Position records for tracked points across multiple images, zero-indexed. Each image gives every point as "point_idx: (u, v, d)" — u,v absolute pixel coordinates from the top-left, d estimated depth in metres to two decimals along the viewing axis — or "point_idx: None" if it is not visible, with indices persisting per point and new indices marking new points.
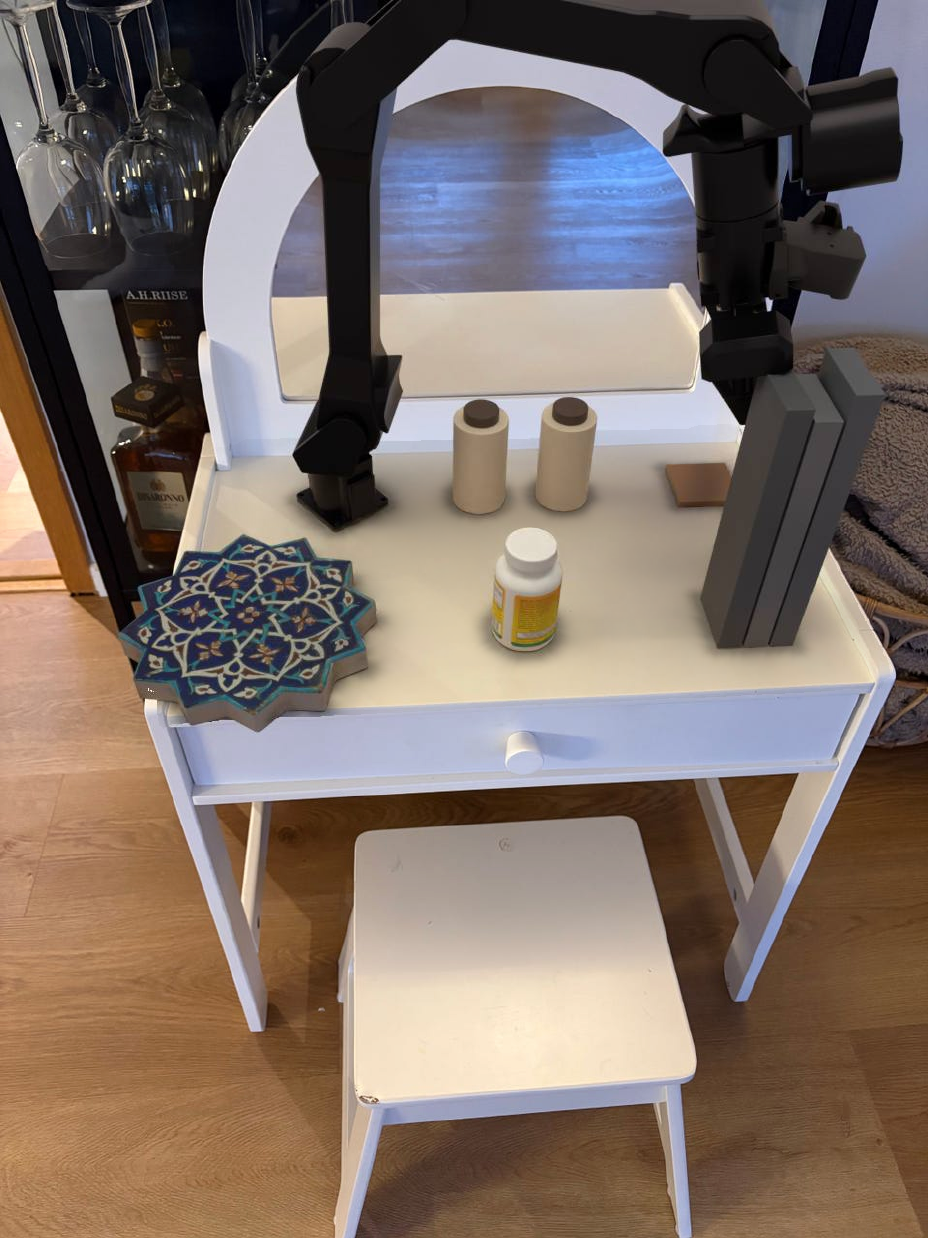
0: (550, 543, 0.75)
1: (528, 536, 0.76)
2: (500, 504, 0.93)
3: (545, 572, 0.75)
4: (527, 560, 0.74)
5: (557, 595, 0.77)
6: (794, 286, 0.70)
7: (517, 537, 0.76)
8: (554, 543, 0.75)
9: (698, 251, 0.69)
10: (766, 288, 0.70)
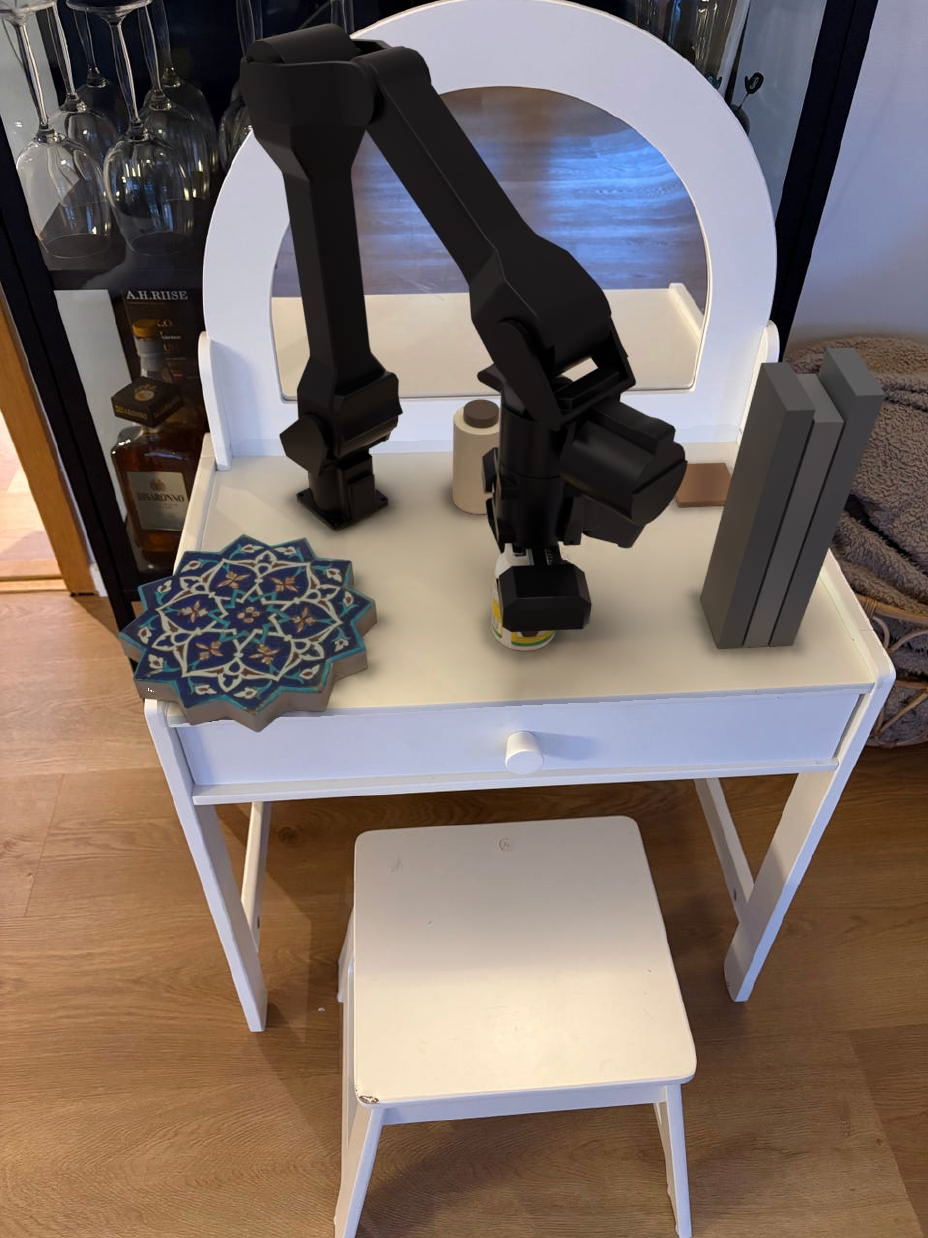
0: None
1: None
2: None
3: None
4: (527, 558, 0.74)
5: None
6: (586, 534, 0.72)
7: None
8: None
9: (501, 498, 0.69)
10: (561, 534, 0.71)
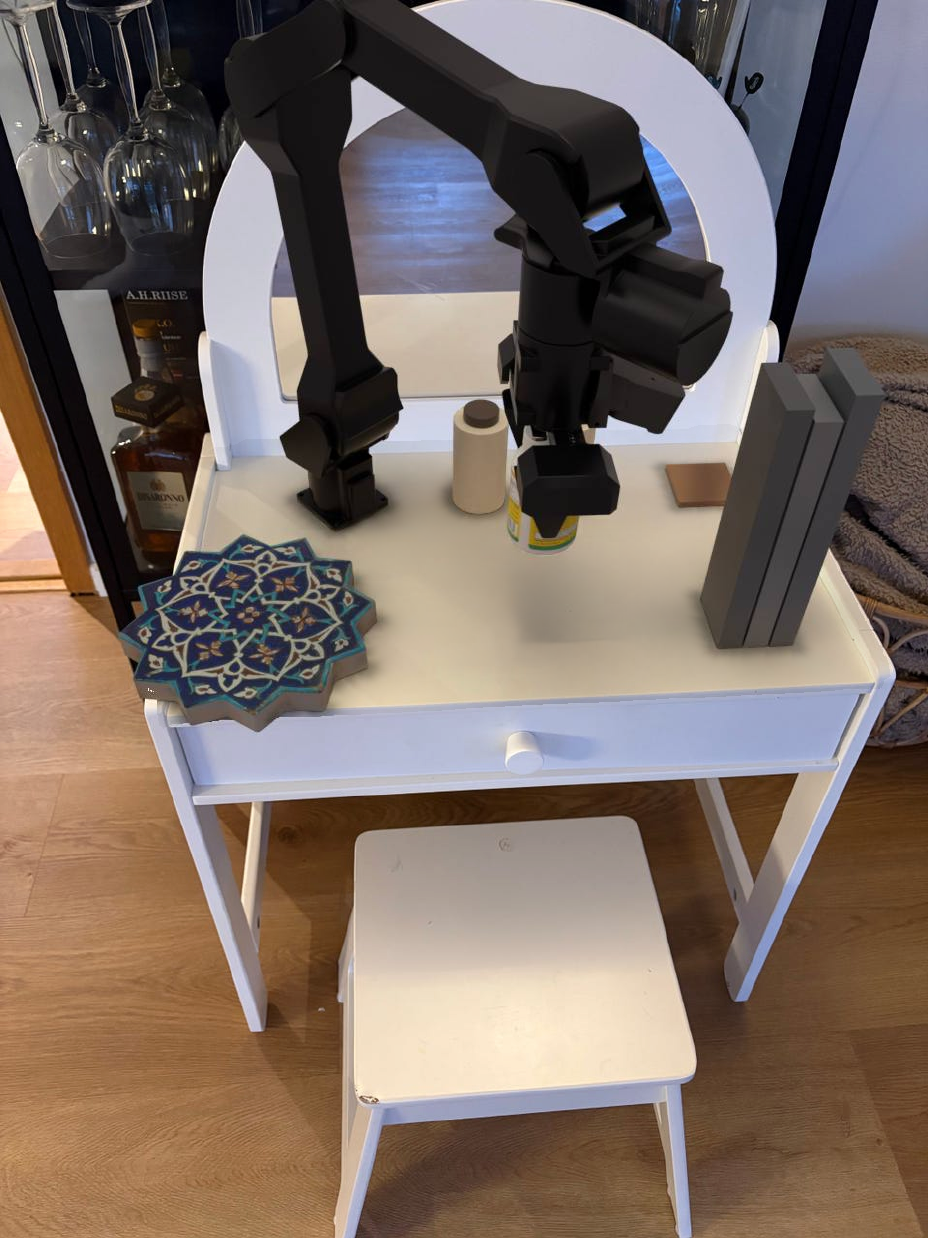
0: None
1: None
2: (500, 504, 0.93)
3: None
4: None
5: None
6: (613, 416, 0.66)
7: None
8: None
9: (521, 370, 0.63)
10: (585, 415, 0.65)
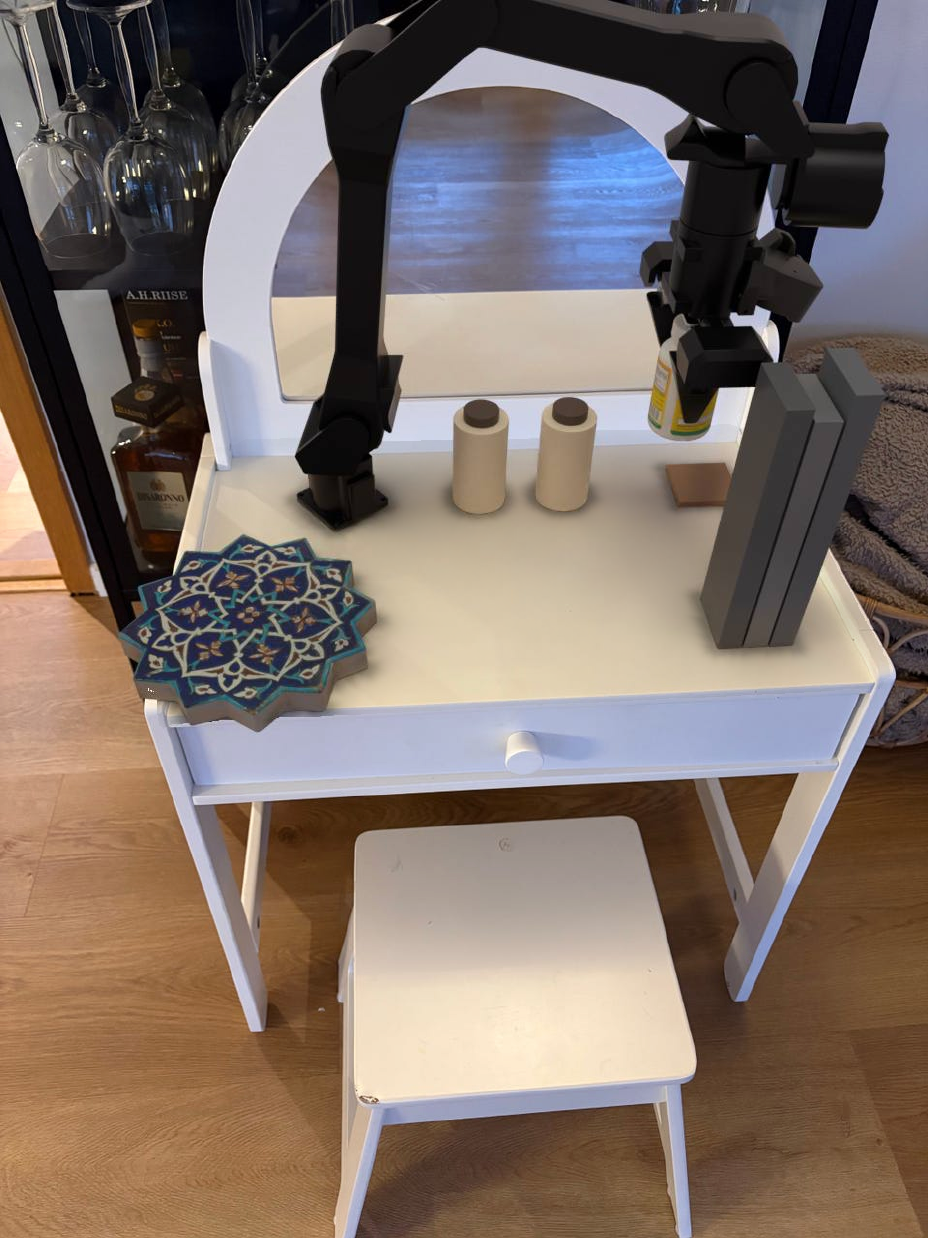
0: None
1: None
2: (500, 504, 0.93)
3: None
4: None
5: None
6: (759, 305, 0.74)
7: None
8: None
9: (684, 260, 0.71)
10: (735, 304, 0.74)
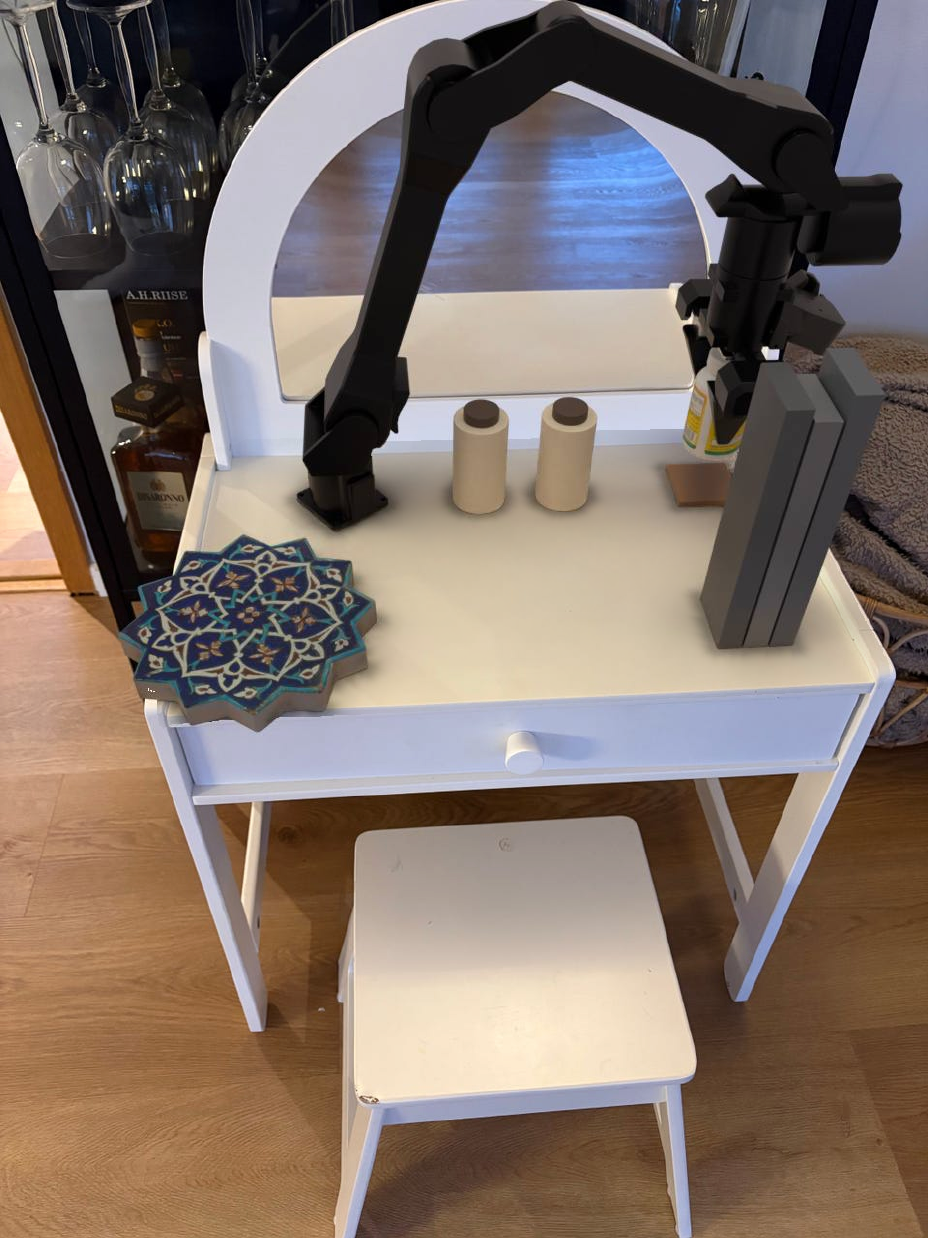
0: None
1: None
2: (500, 504, 0.93)
3: None
4: None
5: None
6: (788, 340, 0.82)
7: None
8: None
9: (723, 300, 0.79)
10: (767, 339, 0.82)
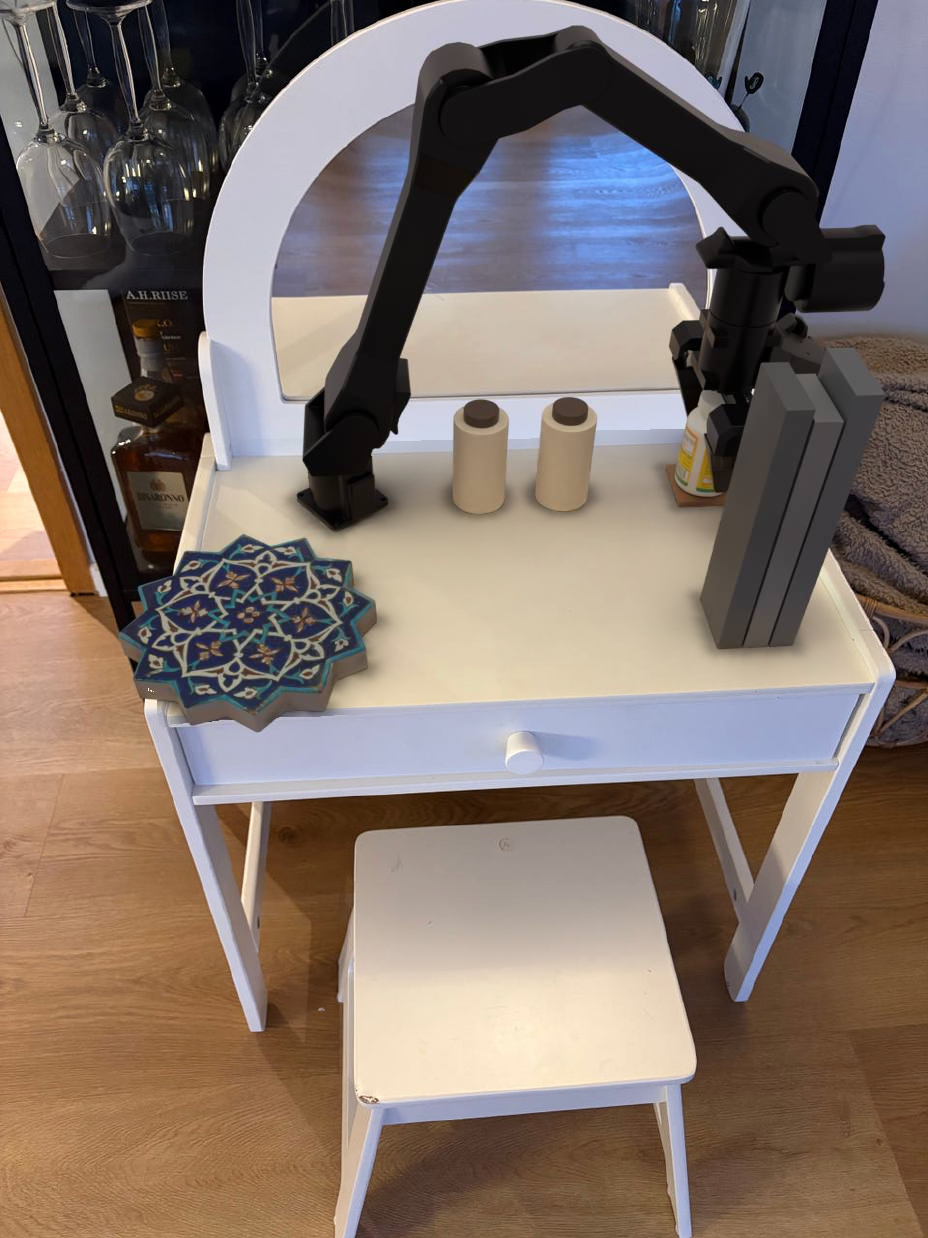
0: None
1: None
2: (500, 504, 0.93)
3: None
4: None
5: None
6: None
7: (710, 392, 0.89)
8: None
9: (713, 346, 0.82)
10: None
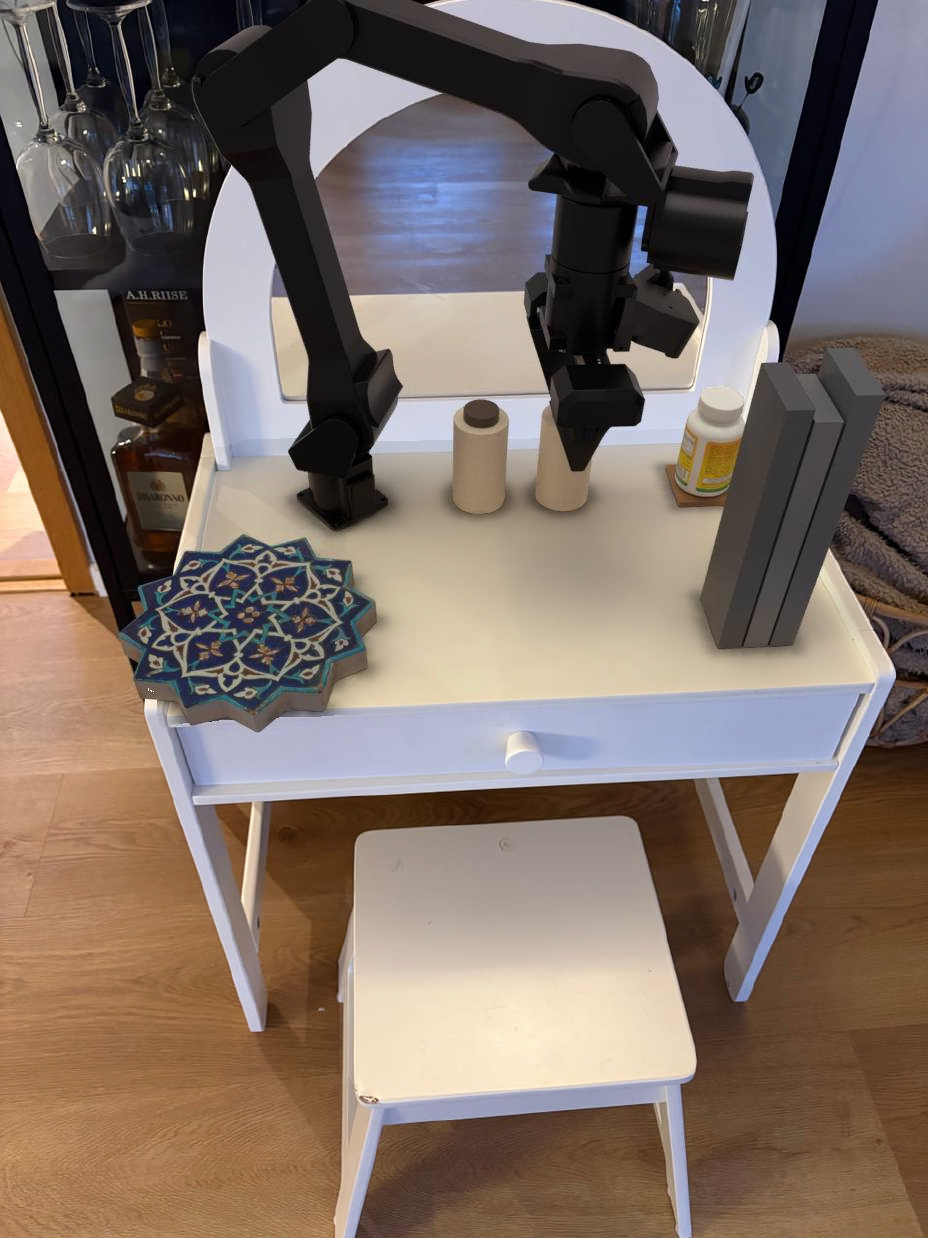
0: (738, 396, 0.89)
1: (718, 392, 0.89)
2: (500, 504, 0.93)
3: (733, 422, 0.89)
4: (722, 409, 0.87)
5: None
6: (635, 341, 0.73)
7: (709, 392, 0.89)
8: (741, 397, 0.89)
9: (555, 297, 0.70)
10: (611, 340, 0.73)
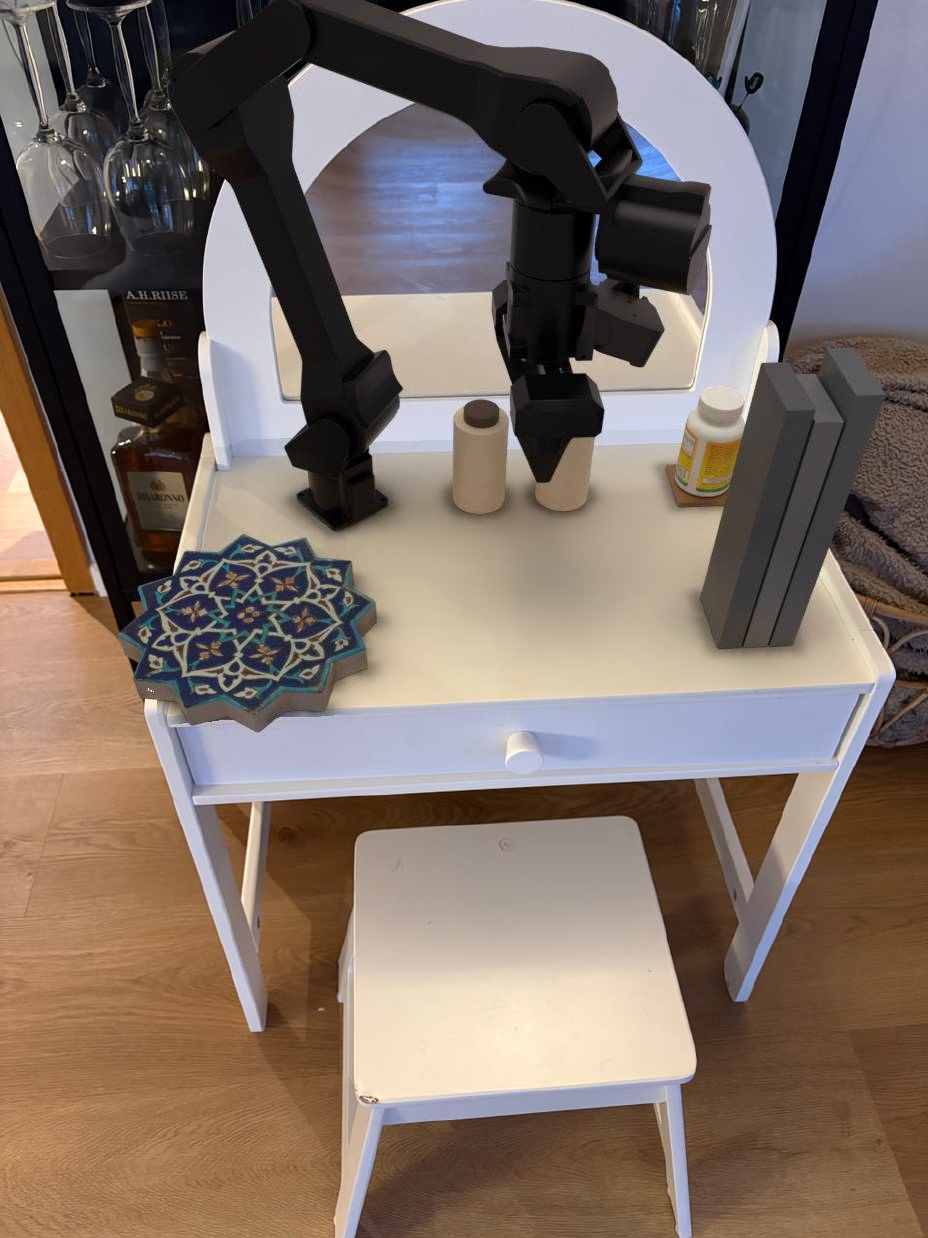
0: (738, 396, 0.89)
1: (718, 392, 0.89)
2: (500, 504, 0.93)
3: (733, 422, 0.89)
4: (722, 409, 0.87)
5: None
6: (598, 350, 0.71)
7: (709, 392, 0.89)
8: (741, 397, 0.89)
9: (513, 305, 0.68)
10: (573, 349, 0.71)
